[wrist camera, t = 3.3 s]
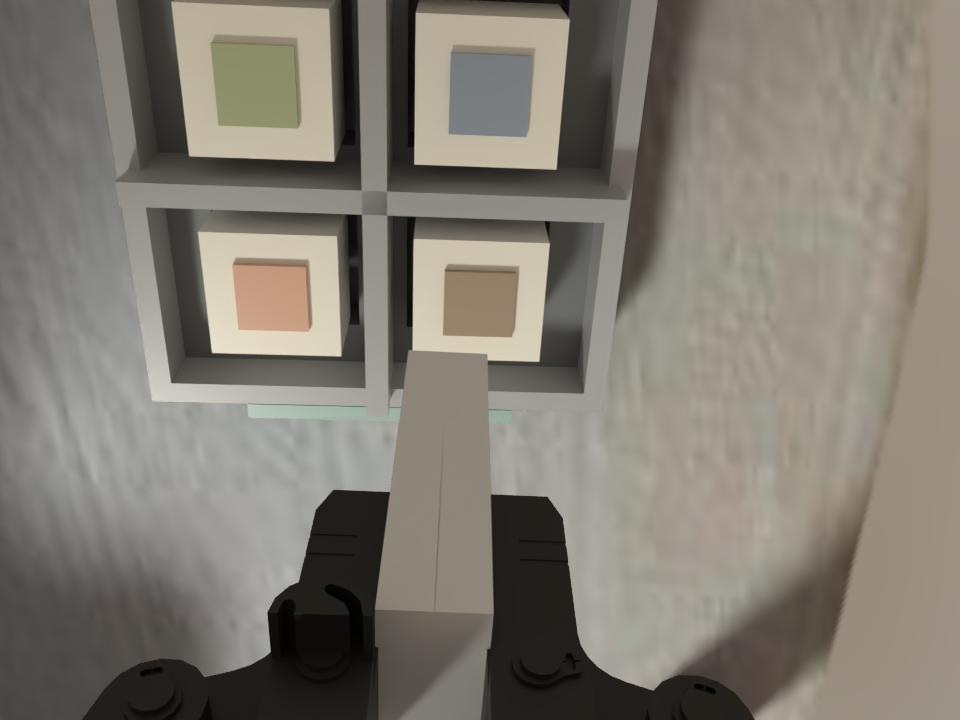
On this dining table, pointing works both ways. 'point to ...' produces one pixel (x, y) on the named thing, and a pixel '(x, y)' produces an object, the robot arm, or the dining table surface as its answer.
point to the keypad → (376, 212)
